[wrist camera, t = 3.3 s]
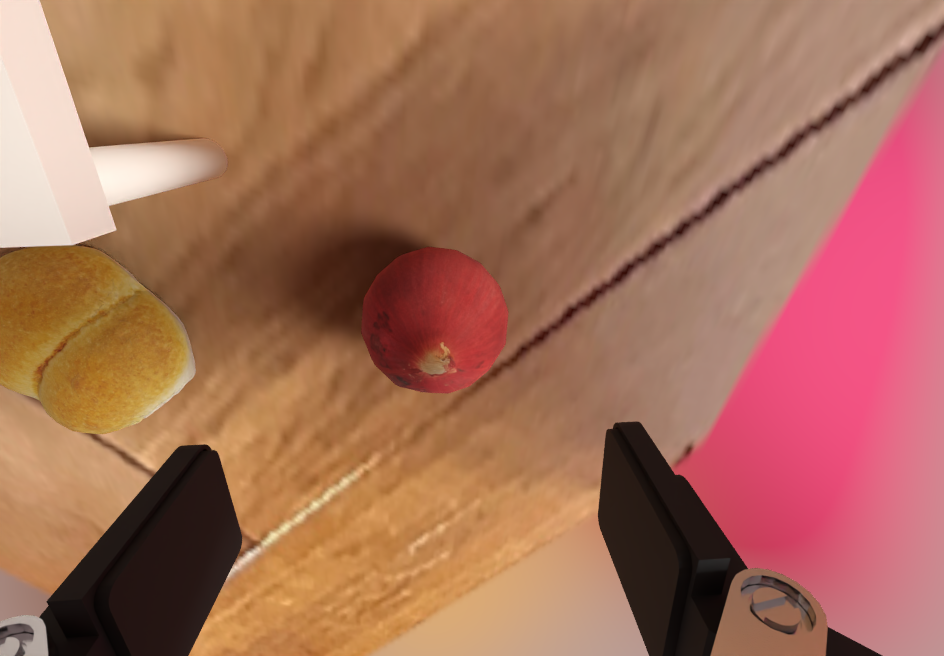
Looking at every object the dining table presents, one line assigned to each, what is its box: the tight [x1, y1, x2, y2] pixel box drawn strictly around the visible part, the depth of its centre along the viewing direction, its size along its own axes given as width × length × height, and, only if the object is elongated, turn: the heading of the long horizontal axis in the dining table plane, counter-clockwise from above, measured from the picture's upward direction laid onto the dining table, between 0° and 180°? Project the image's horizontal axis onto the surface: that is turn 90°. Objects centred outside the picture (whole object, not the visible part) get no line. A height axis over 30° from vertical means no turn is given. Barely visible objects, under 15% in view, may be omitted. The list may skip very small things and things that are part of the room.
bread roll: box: [0, 245, 196, 434], centre depth 21 cm, size 8×9×4 cm
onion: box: [361, 247, 508, 393], centre depth 19 cm, size 6×6×8 cm
